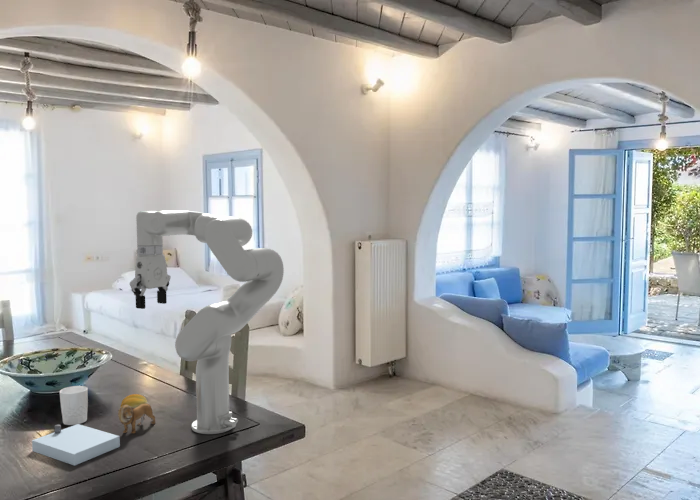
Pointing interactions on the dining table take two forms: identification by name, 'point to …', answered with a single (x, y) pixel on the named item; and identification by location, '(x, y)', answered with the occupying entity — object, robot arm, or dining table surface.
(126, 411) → the lion figurine
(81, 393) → the white cup
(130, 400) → the bread roll
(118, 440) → the plinth
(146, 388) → the dining table surface
